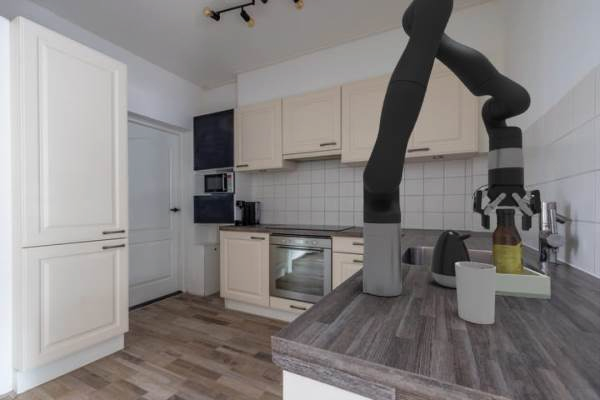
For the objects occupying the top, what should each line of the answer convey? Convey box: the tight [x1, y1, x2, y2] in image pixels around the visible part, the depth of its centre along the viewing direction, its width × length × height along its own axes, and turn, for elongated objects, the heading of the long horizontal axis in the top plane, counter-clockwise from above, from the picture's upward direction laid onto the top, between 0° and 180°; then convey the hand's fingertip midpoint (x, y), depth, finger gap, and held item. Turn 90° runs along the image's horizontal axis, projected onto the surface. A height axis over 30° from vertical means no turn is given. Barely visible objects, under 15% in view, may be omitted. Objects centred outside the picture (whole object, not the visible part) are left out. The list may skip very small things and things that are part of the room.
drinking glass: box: [455, 261, 496, 325], centre depth 52 cm, size 7×7×10 cm
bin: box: [495, 266, 552, 300], centre depth 69 cm, size 12×12×5 cm
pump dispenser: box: [429, 228, 473, 289], centre depth 73 cm, size 10×10×15 cm
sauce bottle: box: [491, 207, 524, 275], centre depth 70 cm, size 6×6×20 cm
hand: (505, 229), depth 70 cm, fingers open, 8 cm apart
